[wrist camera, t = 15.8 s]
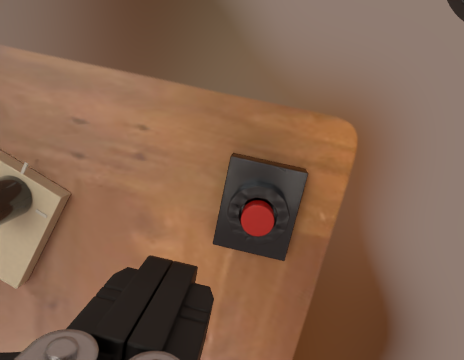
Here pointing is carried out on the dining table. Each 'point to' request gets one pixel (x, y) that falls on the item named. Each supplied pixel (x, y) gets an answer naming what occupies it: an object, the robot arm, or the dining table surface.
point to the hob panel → (28, 222)
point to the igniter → (266, 189)
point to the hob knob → (13, 198)
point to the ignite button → (257, 218)
